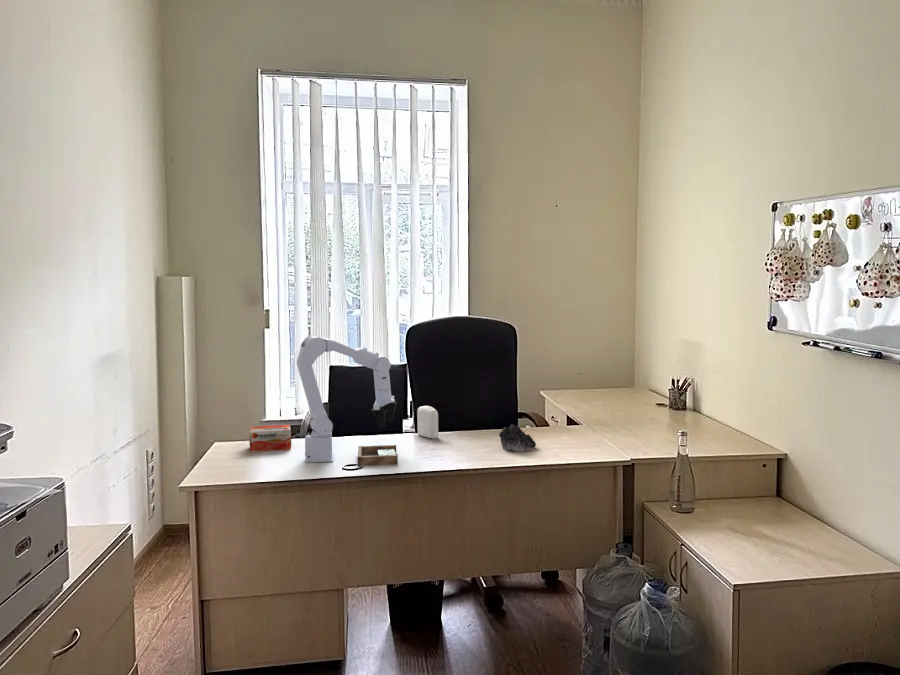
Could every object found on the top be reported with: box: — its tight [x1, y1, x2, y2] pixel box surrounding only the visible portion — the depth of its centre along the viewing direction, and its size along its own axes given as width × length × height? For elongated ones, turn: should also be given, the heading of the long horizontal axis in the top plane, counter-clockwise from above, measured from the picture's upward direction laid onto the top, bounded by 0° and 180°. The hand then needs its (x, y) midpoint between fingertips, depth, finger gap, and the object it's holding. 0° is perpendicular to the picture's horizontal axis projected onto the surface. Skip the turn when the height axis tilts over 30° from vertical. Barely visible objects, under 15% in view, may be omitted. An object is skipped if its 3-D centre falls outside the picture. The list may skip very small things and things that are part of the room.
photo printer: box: [416, 405, 439, 439], centre depth 282 cm, size 10×4×12 cm, turn 39°
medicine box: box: [249, 424, 292, 452], centre depth 264 cm, size 15×8×8 cm, turn 104°
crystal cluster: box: [498, 424, 537, 453], centre depth 263 cm, size 13×14×10 cm
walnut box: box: [357, 444, 399, 467], centre depth 248 cm, size 14×15×3 cm
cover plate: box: [377, 449, 397, 456], centre depth 249 cm, size 6×11×2 cm, turn 10°
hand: (386, 424), depth 257 cm, fingers open, 7 cm apart
